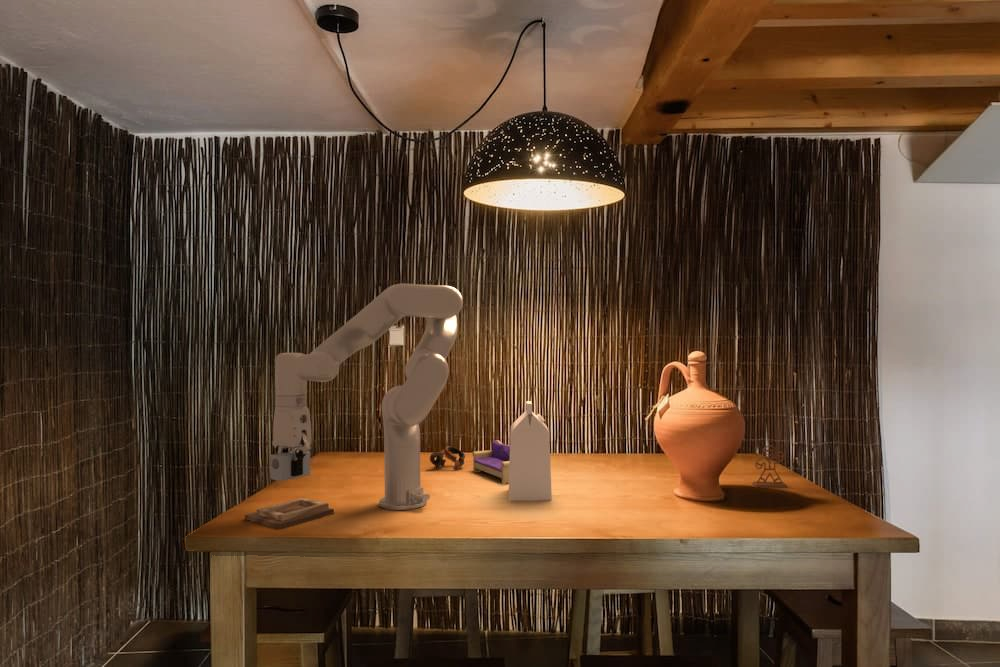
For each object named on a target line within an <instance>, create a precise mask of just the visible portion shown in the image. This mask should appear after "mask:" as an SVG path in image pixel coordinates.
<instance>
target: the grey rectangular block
mask: <svg viewBox="0 0 1000 667" xmlns="http://www.w3.org/2000/svg"><path fill="white" fill-rule="evenodd" d="M298 451H299V450H297V453H298ZM291 460H293V456H292V450H290V452H285V453H279V454H278V453H274V454H271V455H270V479H271V480H274V481H278V482H284V481H289V480H293V479H298V478H303V477H308V476H311V451H309V452H307V453H306V455H305V458H304V459H303V474H302V475H299V476H294V477H293V476H291Z"/></svg>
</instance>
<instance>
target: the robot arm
mask: <svg viewBox="0 0 1000 667" xmlns="http://www.w3.org/2000/svg"><path fill="white" fill-rule="evenodd" d="M463 300H464V299H463V296H462V293H461V292H460V291H459V289H457V288H455V287H454V286H451V285H440V284H439V285H438V284H437V285H435V284H419V283H418V284H416V283H405V282H404V283H397V284H393V285H390V286H389V287H387V288H385V289H384V290H383V291H382V292H381V293H379V295H377V296H376V297H375V298H373V300H371V302H370V303H368V304H367V305H366V306H364V308H362V309H361V310H360V311H359V312H357V313H356V315H354V316H352V317H351V318H350V319H349V320H348V321H347V322H346V323H344V325H342V326H341V327H340V328H338V330H336V331H335V332H334V333H332V334H331V335H329V337H327V338H326V339H325V340H324V341H322V343H321V344H319V345H318V346H317V347H316V348H315V349H313V350H312V351H311V352H310V353H309V354H308V353H307V354H305V353H303V352H302V353H301V352H282V353H279V354H277V355H276V357H275V409H274V415H273V423H272V424H273V426H272V427H273V428H272V439H273V440H272V443H271V444H272V446H273V448H275V451H276V452H277V453H276V454H279V453H285V452H291V451H292V456H293V460H291V476H293V477H294V476H299V475H302V474H303V459H304V458H305V455H306V453H307V452H311V450H312V447H311V445H312V424H311V423H312V422H311V415H310V414H311V413H310V410H309V407H307V402H308V401H307V399H308V398H307V396H308V395H307V392H308V390H307V389H308V388H307V385H308V384H307V381H311V382H318V383H319V382H320V383H326V382H327V383H328V382H330V381H332V380H334V379H335V378H336V377H337V375H338V373H339V371H340V366H341V364H342V363H344V361H346V360H347V359H348V358H350V357H351V356H352V355H353V354H355V353H357V352H358V351H360V350H362V349H364V348H367V347H369V346H370V345H372V344H373V343H376V342H377V341H378V340H379V339H380V338H381V337H383V335H384V334H385V333H386V332H388V331H389V330H390V329H391V328H392V327H393V326H395V325H396V324H397V323H398V322H399V321H400V320H402V318H405V317H411V318H412V317H413V318H426V319H427V320H426V321H427V322H426V328H425V330H424V333H423V335H422V336H421V339H420V341H419V342H418V344H417V346H416V347H415V348H414V351H413V352H412V354H411V355H410V357H408V360H407V362H406V364H405V366H404V367H405V368H404V373H405V376H406V378H407V379H406V380H405V382H404V384H403V385H396V386H393V387H392V388H390V389H389V390H388V391H386V393H385V394H384V395H383V399H382V403H381V414H382V424H383V446H384V447H383V450H384V451H383V455H384V457H383V458H384V459H383V461H384V462H383V463H384V464H383V465H384V466H383V468H384V474H383V475H384V497H382V498H380V499H379V500H378V507H380V508H382V509H386V510H393V511H394V510H395V511H396V510H397V511H404V510H406V511H407V510H413V509H419V508H422V507H424V506H425V505H426V504H427V502H428V501H429V500H430V498H431V495H430V493H424V487H422V486H421V434H420V433H421V431H420V424H421V423H422V422H423V421H424V420H425V419H426V418H427V416H428V415H429V413H430V412H431V411H432V408H433V407H434V405H435V403H436V401H437V399H438V398H439V397H440V395H441V393H442V391H443V389H444V387H445V386H446V383H447V381H448V379H449V374H450V368H449V364H448V361H447V358H448V356H449V354H450V352H451V350H452V348H453V347H454V344H455V343H456V341H457V340H456V339H457V336H458V329H459V328H458V319H457V315H459V313H460V312H461V310H462V309H463V304H464V301H463ZM297 450H299V451H298V453H297Z"/></svg>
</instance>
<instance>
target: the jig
mask: <svg viewBox="0 0 1000 667" xmlns="http://www.w3.org/2000/svg"><path fill="white" fill-rule="evenodd" d="M331 514H332V515H334V514H335V510H334V508H330V507H329V503H328V502H323V501H320V500H314V499H309V498H304V497H301V498H296V499H294V500H289V501H284V502H282V503H278V504H273V505H270V506H264V507H262V508H257V509H256V511H255V512H252V513H248V514H247V513H246V514H244V520H245V519H246V520H245V521H247V520H250V521H249V522H251V521H253V522H252V523H255V522H256V524H258V523H259V525H263V526H267V527H270V528H273V527H274V529H278V530H283V529H285V528H290V527H292V526H296V525H300V524H304V523H307V522H310V521H314V520H317V518H318V519H321V518H324V516H325V517H327V516H331Z"/></svg>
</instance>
